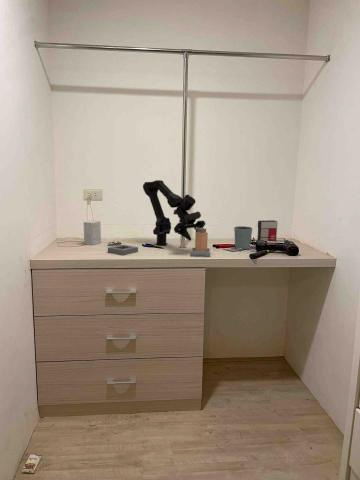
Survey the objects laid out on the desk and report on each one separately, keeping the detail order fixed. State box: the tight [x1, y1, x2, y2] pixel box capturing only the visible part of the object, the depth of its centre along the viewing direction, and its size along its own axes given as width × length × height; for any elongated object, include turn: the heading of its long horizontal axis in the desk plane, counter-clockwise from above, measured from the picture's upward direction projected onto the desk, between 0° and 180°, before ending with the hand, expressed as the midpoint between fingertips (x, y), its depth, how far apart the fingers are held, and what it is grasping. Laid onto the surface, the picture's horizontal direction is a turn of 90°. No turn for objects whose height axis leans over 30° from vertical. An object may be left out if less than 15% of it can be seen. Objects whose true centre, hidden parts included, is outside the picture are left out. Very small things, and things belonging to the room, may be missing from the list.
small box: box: [83, 220, 102, 246], centre depth 220 cm, size 8×6×13 cm
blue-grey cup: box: [233, 225, 253, 250], centre depth 216 cm, size 10×10×12 cm
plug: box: [194, 227, 209, 252], centre depth 197 cm, size 5×4×13 cm
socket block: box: [107, 244, 139, 256], centre depth 196 cm, size 11×11×4 cm
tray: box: [190, 247, 212, 258], centre depth 198 cm, size 10×10×2 cm
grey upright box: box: [256, 219, 278, 243], centre depth 224 cm, size 11×4×15 cm, turn 105°
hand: (197, 239), depth 199 cm, fingers open, 9 cm apart
